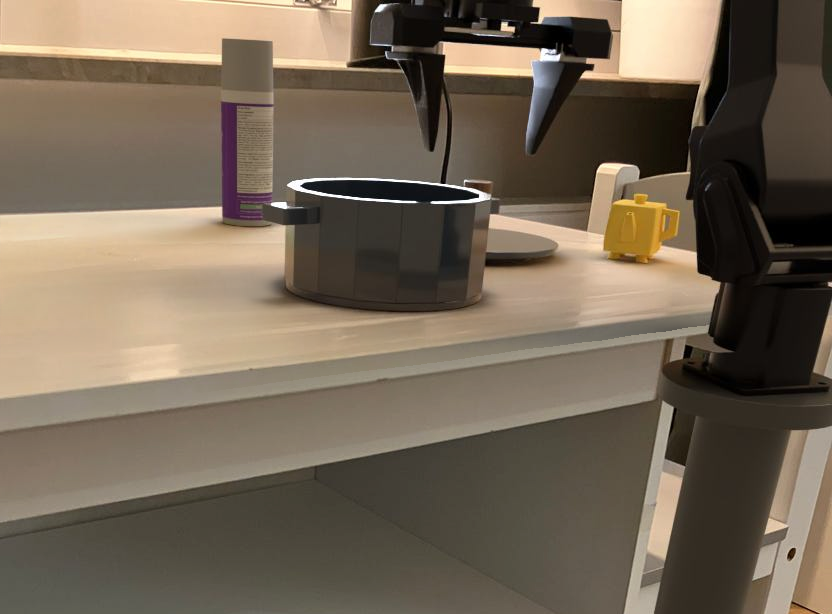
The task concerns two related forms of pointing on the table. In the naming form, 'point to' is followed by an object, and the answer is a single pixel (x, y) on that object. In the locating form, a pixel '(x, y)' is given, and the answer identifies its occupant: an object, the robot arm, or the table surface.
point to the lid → (511, 238)
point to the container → (246, 130)
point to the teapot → (638, 228)
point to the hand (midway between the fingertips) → (480, 153)
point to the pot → (384, 242)
